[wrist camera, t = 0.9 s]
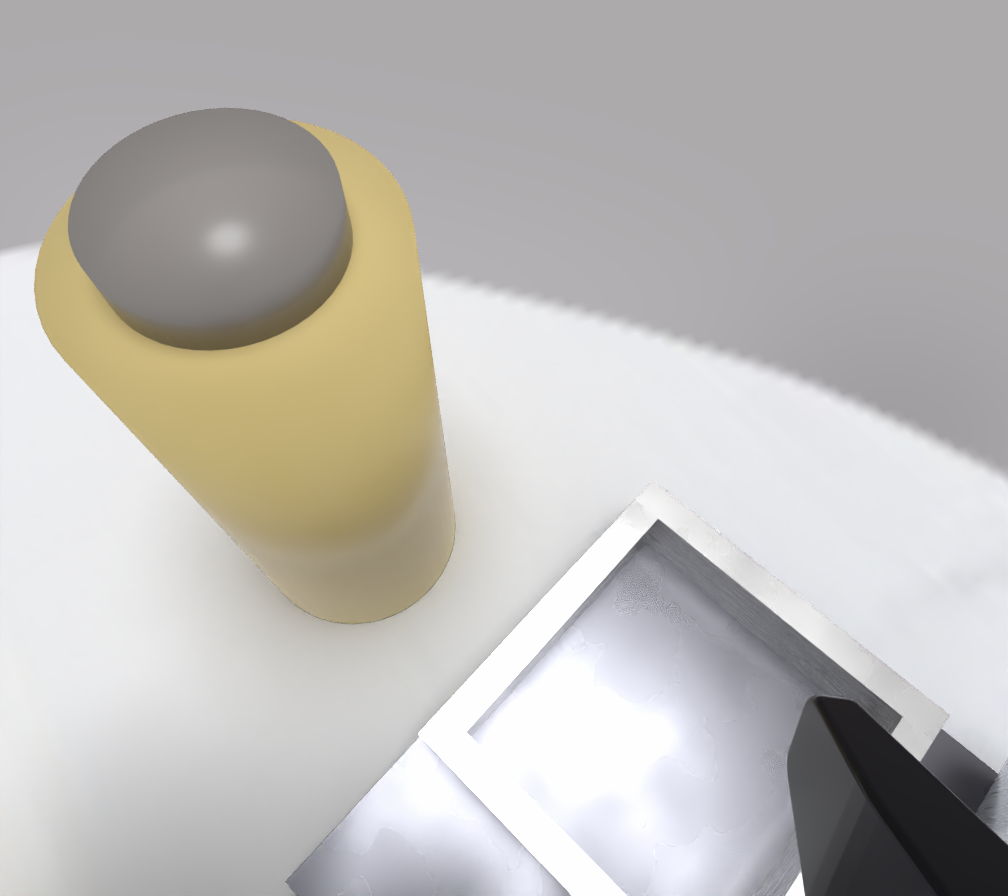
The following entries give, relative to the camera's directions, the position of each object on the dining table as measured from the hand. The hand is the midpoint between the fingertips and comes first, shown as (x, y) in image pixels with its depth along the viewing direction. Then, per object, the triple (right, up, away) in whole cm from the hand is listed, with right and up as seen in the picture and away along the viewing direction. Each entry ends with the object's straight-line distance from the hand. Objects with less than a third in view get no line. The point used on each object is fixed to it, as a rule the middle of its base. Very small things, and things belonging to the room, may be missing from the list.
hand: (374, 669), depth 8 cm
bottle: (-3, 0, +16) cm, 16 cm away
